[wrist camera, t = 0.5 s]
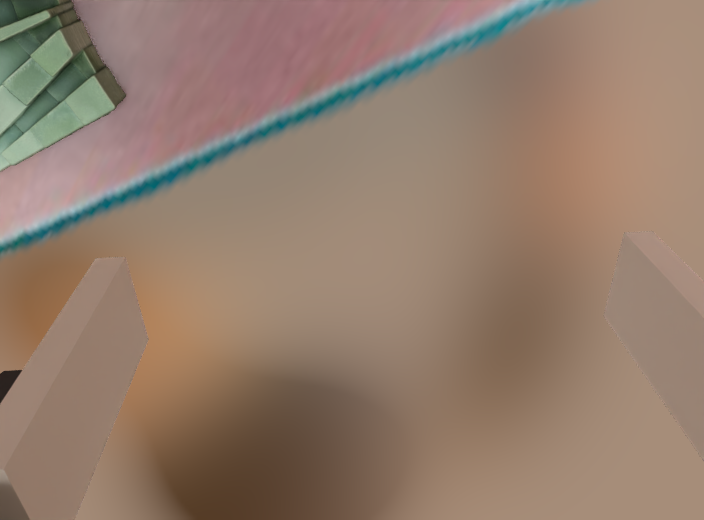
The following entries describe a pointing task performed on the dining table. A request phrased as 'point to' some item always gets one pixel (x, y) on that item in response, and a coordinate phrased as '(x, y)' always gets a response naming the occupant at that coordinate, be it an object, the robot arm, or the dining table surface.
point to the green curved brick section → (47, 77)
